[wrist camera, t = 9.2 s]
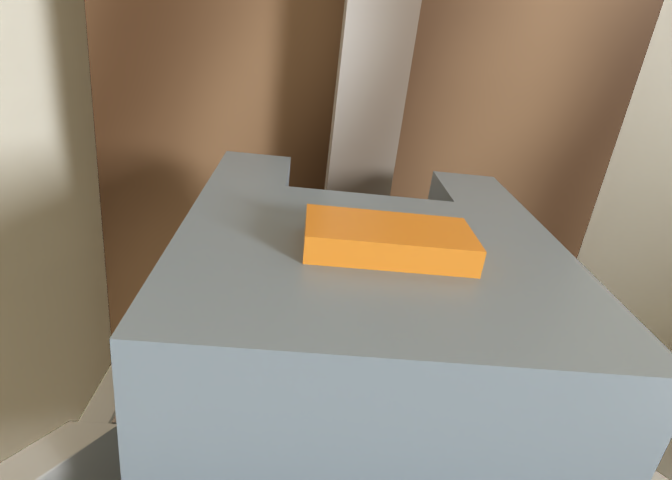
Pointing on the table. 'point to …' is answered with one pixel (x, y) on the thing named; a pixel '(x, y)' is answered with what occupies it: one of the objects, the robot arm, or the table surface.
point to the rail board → (280, 100)
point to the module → (380, 343)
